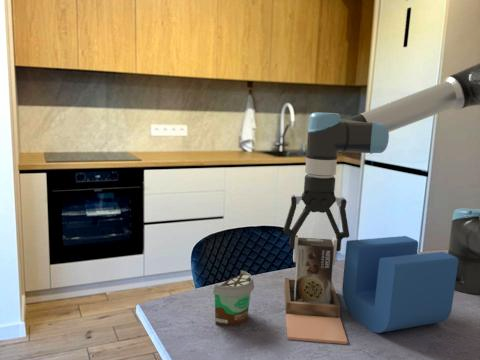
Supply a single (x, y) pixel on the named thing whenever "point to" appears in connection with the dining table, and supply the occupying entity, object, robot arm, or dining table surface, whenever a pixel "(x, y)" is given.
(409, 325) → the block
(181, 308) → the dining table surface
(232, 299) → the food container
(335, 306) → the walnut frame
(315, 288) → the coffee box
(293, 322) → the terracotta tile
